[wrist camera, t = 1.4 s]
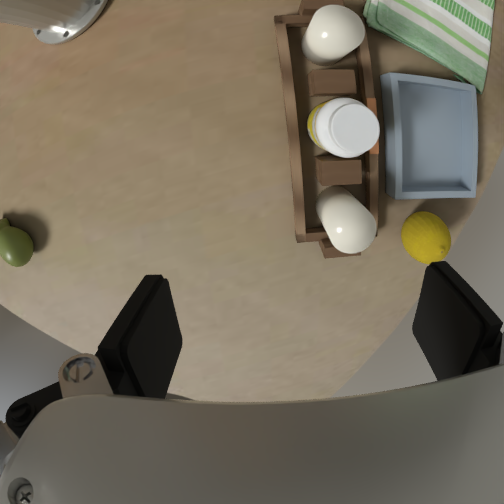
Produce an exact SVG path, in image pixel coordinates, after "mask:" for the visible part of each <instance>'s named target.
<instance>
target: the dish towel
mask: <svg viewBox="0 0 504 504" xmlns="http://www.w3.org/2000/svg"><path fill="white" fill-rule="evenodd" d="M494 5H495V0H367V1H366V4H365V7H364V11H363V16H364V17H365V18H367V20H366V23H367V24H368V27H372V28H374V29H375V30H377V31H379V32H381V33H383V34H385V35H387V36H390V37H392V38H394V39H395V40H397V41H399V42H401V43H403V44H405V45H407V46H409V47H411V48H413V49H415V50H417V51H419V52H421V53H422V54H424V55H426V56H428V57H430V58H431V59H433V60H435V61H436V62H438V63H440V64H442V65H443V66H445V67H447V68H448V69H450V70H452V71H453V72H455V73H457V74H458V75H459V76H457V75H454V76H455V77H456V78H458V79H459V80H460V81H462V82H463V83H466V82H465V81H464V79H466V80H467V81H469V82H470V84H471V85H475V87H476V92H477V93H479V94H482V91H483V88H484V82H485V78H486V73H487V66H488V61H489V52H490V44H491V32H492V23H493V12H494ZM463 78H464V79H463ZM466 84H467V83H466Z"/></svg>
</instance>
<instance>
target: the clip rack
mask: <svg viewBox="0 0 504 504" xmlns="http://www.w3.org/2000/svg"><path fill="white" fill-rule="evenodd" d="M327 5H340V6H344V3H343V0H302V1H301V4H300V7H299V10H298V14H299V15H281V16H274V24H275V31H276V38H277V45H278V53H279V61H280V68H281V77H282V85H283V94H284V102H285V112H286V121H287V131H288V142H289V152H290V164H291V176H292V188H293V202H294V216H295V232H296V240H297V243H301V242H313V241H319V245H320V247H321V250H322V252H323V255H324V258H335V257H346V256H357V255H361V252H358V253H353V254H348V253H344V252H341V251H339V250H338V249H336V248H335V247H334V245H333V244H332V242H331V240H330V238H329V236H328V234H327V232H326V230H325V228H324V227H318V228H305V212H304V195H303V180H302V167H301V154H300V142H299V131H298V121H297V111H296V101H295V92H294V83H293V75H292V67H291V59H290V52H289V44H288V37H287V30H286V28H287V27H308V26H309V24H310V22H311V20H312V18H313V16H314V14H315V12H316V11H317V10H319V9H320V8H322V7H324V6H327ZM360 19H361V20H362V22H363V25H364V28H365V22H364V17H360ZM355 50H356V57H357V64H358V72H359V81H360V90H361V101H362V104H364V105H365V106H366V107H367V108H369V109H370V110H371V111H372V112H373V113H374V114H375V116H376V117H377V108H376V98H375V96H374V86H373V77H372V68H371V60H370V53H369V46H368V40H367V34H366V28H365V36H364V39H363V41H362V43H361V44H360V45H359V46H358V47H356V48H355ZM307 78H308V87H309V96H310V97H313V96H348V95H352V94H356V93H357V91H356V81H355V73H354V70H340V69H321V70H312V71H311V72H310V73H309V74H308V75H307ZM378 154H379V141H378V140H377V142H376V144H375V145H374V146H373V147H372V148H371V149H370V150H368V151H366V152H365V176H366V209H367V210H368V211H369V212H370V213H371V214H372V215H373V217H374V219H375V221H376V228H378ZM315 165H316V178H317V179H318V181H319V182H320V183H321V184H322V186H329V185H347V184H362V171H361V160H360V159H358V158H356V157H352V158H344V157H339V156H336V155H333V156H315ZM375 236H377V229H376V235H375Z"/></svg>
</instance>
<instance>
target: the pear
mask: <svg viewBox="0 0 504 504" xmlns="http://www.w3.org/2000/svg"><path fill="white" fill-rule="evenodd" d="M0 255H1V257H2V258H3V259H4V260H5V261H6V262H7V263H8V264H10V265H12V266H15V267H20V266H23V265H25V264H27V263H28V262H29V260H30V259H31V257H32V255H33V242H32V239H31V238H30V236H29V235H28V234H27V233H26V232H24V231H22V230H21V229H18V228H15V227H10V225H9V221H8V220H7V219H6V218H3V219H1V220H0Z"/></svg>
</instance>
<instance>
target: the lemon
mask: <svg viewBox="0 0 504 504" xmlns="http://www.w3.org/2000/svg"><path fill="white" fill-rule="evenodd" d="M401 238H402V243H403V245H404V247H405V249H406V251H407V252H408V253H409V254H410V256H411V257H413V258H414V259H416V260H417V261H419V262H422V263H425V264H430V263H431V262H438V261H441V260H442V259H443V258H445V256H446V255H447V254H448V251H449V249H450V246H451V237H450V232H449V230H448V228H447V226H446V225H445V223H444V222H443V221H442V220H441V219H440V218H439V217H438V216H436V215H434V214H433V213H430V212H425V211H420V212H416V213H413V214H412V215H410V216H409V217H408V218H407V219H406V220H405V222H404V224H403V226H402V230H401Z"/></svg>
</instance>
